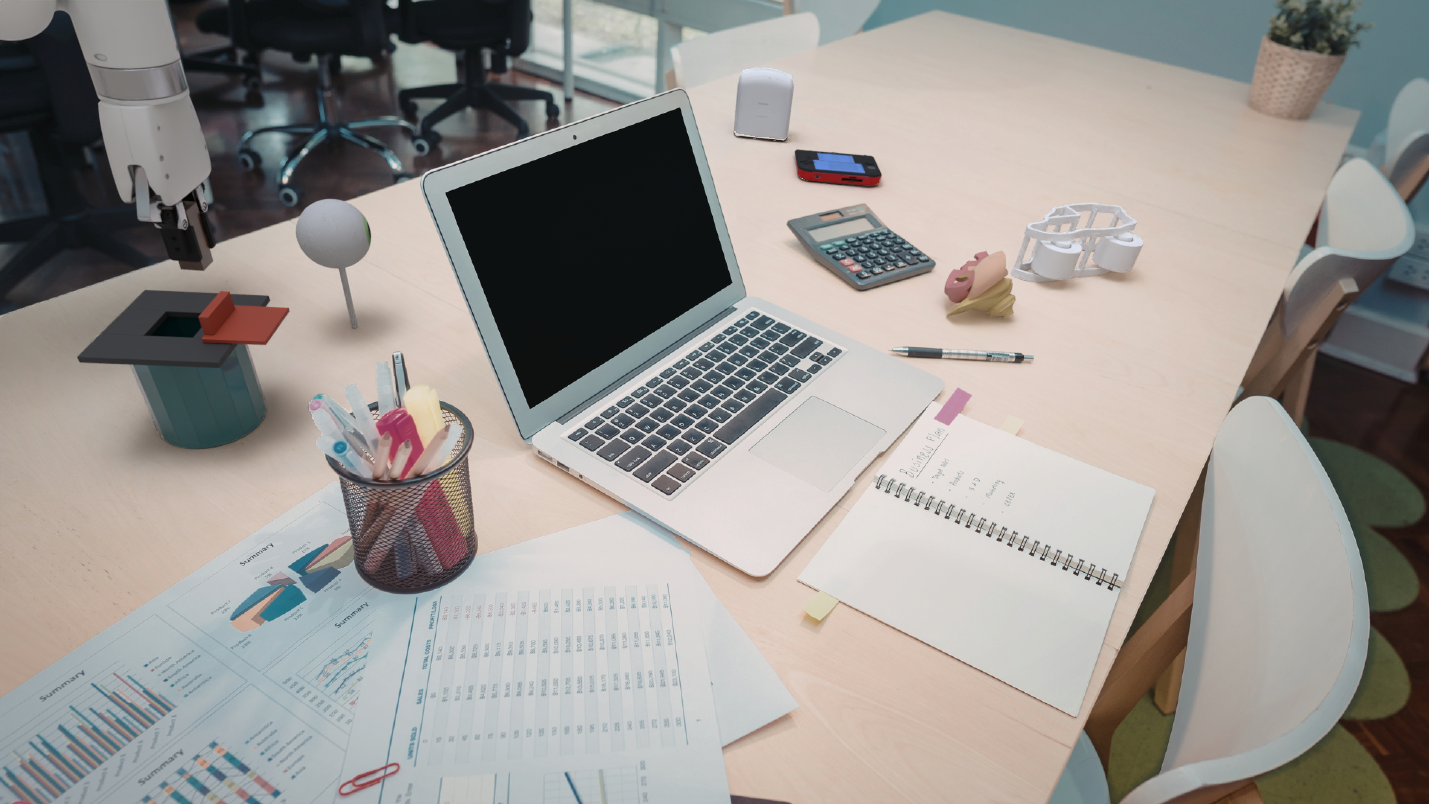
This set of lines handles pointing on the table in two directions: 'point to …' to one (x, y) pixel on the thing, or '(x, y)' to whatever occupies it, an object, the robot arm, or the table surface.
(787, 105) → the photo printer
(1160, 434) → the table surface
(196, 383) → the cup
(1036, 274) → the wheeled car silhouette
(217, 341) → the slider
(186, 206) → the peg
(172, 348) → the cup lid
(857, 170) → the game console
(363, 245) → the lollipop
